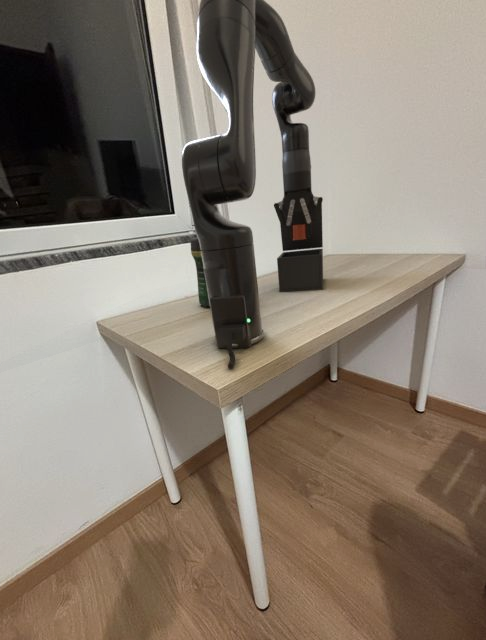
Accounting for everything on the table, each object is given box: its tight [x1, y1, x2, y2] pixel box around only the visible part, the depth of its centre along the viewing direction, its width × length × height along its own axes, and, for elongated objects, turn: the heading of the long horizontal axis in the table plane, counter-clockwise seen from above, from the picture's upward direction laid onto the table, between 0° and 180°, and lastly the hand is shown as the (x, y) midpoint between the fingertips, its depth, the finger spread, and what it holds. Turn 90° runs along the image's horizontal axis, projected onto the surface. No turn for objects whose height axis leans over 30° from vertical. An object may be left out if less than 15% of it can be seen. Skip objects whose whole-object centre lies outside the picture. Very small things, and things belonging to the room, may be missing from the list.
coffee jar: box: [190, 236, 210, 308], centre depth 85 cm, size 10×8×19 cm
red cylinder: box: [292, 224, 307, 240], centre depth 89 cm, size 4×4×4 cm
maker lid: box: [279, 200, 324, 252], centre depth 96 cm, size 14×13×5 cm
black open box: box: [276, 248, 324, 293], centre depth 94 cm, size 14×13×10 cm
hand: (299, 238), depth 89 cm, fingers closed on red cylinder, 4 cm apart
